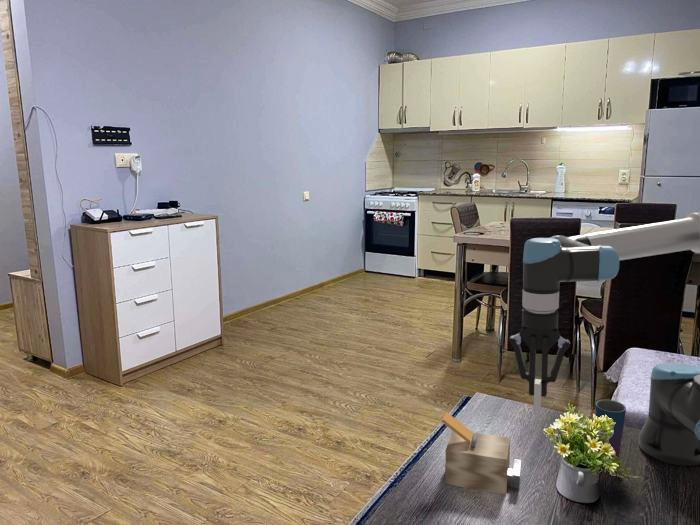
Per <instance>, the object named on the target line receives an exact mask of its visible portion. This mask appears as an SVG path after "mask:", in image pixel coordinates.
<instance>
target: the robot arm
mask: <svg viewBox="0 0 700 525" xmlns="http://www.w3.org/2000/svg"><path fill="white" fill-rule="evenodd" d="M523 246H524V247H523V258H522V266H523V267H522V269H523V270H522V272H523V273H522V281H523V282H522V296H521V298H522V301H521V302H522V304H521V305H522V306H521V307H522V310H521V328H520V329H519V332H517V333H516V334H514V335H513V334H511V335H510V336H509V340H508V341H509V344H510V345H511V346H512V348H513V351H514V355H515V358H516V363H517V367H518V371H519V374H520V376H519V377H520V378H521V379H522V380H526V381H527V382H528V394H529V396H533V411H535V412H541V408H542V407H541V406H542V397H544V398H546V397H547V394H548V384H550V383H555V382H556V381H557V378H558V375H559V372H560V368H561V365H562V363H563V359H564V355H565V353H566V352H567V351H568V349H569V348H570V347H571V342H570V339H568V338H564V337H563V336H561V332H560V331H559V311H558V309H560V304H559V303H560V286H561V285H560V284H561V282H562V283H571V282H573V283H575V282H600V281H609V280H612V279H614V278H616V276H617V275H618V273H619V270H620V261H625V260H632V259H637V258H643V257H651V256H657V255H664V254H671V253H676V252H683V251H692V252H693V253H697V254H698V253H700V211H696V212H690V213H688V214H686V216H685V217H684V218H680V219H679V218H678V219H673V220H667V221H666V220H665V221H661V222H653V223H647V224H643V225H642V224H641V225H637V226H636V225H635V226H629V227H622V228H617V229H616V228H615V229H610V230H603V231H596V232H591V233H585V234H578V235H572V236H565V235H553V236H551V237H550V236H549V237H534V238H530V239H527V240H526V241H525V243H524V245H523ZM522 341H523V342H524V344H525V345H526V346H527V347H528V348H529V372H528V371H527V367H526V363H525V359H524V355H523V351H522V347H521V343H522ZM556 343H557V346H558V349H557V352H556V354H555V358H554V361H553V365H552V368H551V370H550V374H548V364H549V363H548V362H549V361H548V360H549V359H548V358H549V350H551V349H552V347H553V346H554V345H555V344H556ZM537 350H539V351H541V352H542V353H541V379H539V378H538V379H537V378H536V363H537V362H536V358H537V356H536V354H537ZM649 388H650V389H649V400H648V402H649V404H648V415H647V416H648V417H647V418H646V420H645V422H644V425H643V426H642V428H641V430H640V432H639V435H638V447H639V448H640V449H641V450H642V451H643V453H645V454H646V455H648V456H649V457H652V458H653V459H656V460H658V461H659V462H660V461H661V462H663V463H667V464H669V465H670V464H671V465H675V466H676V465H677V466H683V467H685V466H686V467H693V466H698V465H700V366H697V365H695V364H690V363H689V364H688V363H680V362H663V363H658V364H656V365H654V366H653V368H652V370H651V375H650V386H649Z"/></svg>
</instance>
